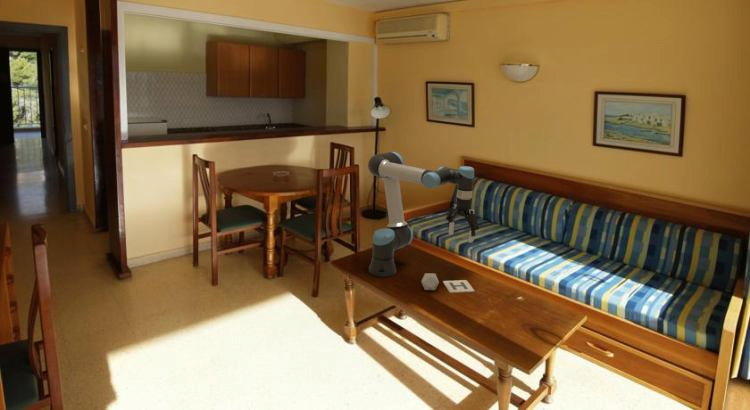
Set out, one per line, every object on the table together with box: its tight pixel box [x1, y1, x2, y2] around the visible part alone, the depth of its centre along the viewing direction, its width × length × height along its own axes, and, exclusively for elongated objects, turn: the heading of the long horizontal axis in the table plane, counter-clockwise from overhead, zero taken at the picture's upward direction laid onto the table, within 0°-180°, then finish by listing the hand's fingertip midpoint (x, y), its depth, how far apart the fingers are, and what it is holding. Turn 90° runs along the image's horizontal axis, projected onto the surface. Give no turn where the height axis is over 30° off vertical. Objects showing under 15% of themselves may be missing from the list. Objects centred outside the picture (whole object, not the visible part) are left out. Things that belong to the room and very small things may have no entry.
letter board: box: [442, 279, 476, 294], centre depth 254 cm, size 13×13×1 cm
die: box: [420, 272, 440, 291], centre depth 250 cm, size 8×9×10 cm
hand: (460, 238), depth 249 cm, fingers open, 13 cm apart
